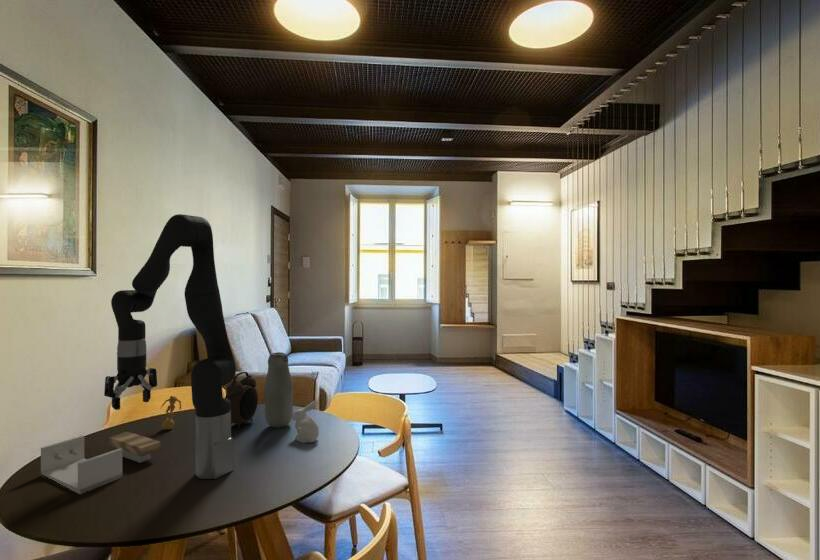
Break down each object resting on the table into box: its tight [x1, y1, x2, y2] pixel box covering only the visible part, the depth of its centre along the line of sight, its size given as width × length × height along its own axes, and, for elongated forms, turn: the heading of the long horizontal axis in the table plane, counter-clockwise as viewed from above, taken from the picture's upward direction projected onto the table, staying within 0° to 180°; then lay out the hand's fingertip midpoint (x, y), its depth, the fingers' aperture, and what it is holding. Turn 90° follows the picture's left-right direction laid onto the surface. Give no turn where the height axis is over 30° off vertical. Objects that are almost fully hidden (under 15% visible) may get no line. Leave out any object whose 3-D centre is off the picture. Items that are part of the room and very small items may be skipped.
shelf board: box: [108, 431, 161, 457], centre depth 126 cm, size 18×6×2 cm, turn 63°
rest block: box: [122, 450, 151, 464], centre depth 126 cm, size 12×3×3 cm, turn 63°
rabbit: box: [291, 400, 320, 444], centre depth 140 cm, size 12×9×12 cm
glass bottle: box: [263, 352, 294, 429], centre depth 152 cm, size 10×10×28 cm
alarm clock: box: [224, 371, 259, 430], centre depth 154 cm, size 15×7×20 cm, turn 168°
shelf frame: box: [40, 434, 123, 495], centre depth 113 cm, size 22×10×8 cm, turn 63°
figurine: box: [160, 395, 182, 431], centre depth 150 cm, size 8×6×12 cm
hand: (131, 405), depth 125 cm, fingers open, 8 cm apart
